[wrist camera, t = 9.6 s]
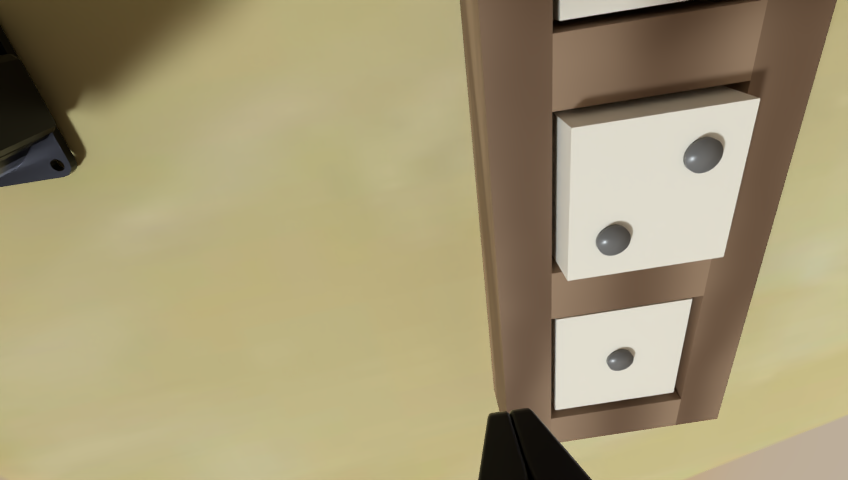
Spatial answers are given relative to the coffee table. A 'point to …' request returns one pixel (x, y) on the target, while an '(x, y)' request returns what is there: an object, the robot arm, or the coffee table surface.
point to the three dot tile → (598, 7)
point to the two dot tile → (647, 180)
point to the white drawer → (617, 353)
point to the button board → (532, 179)
